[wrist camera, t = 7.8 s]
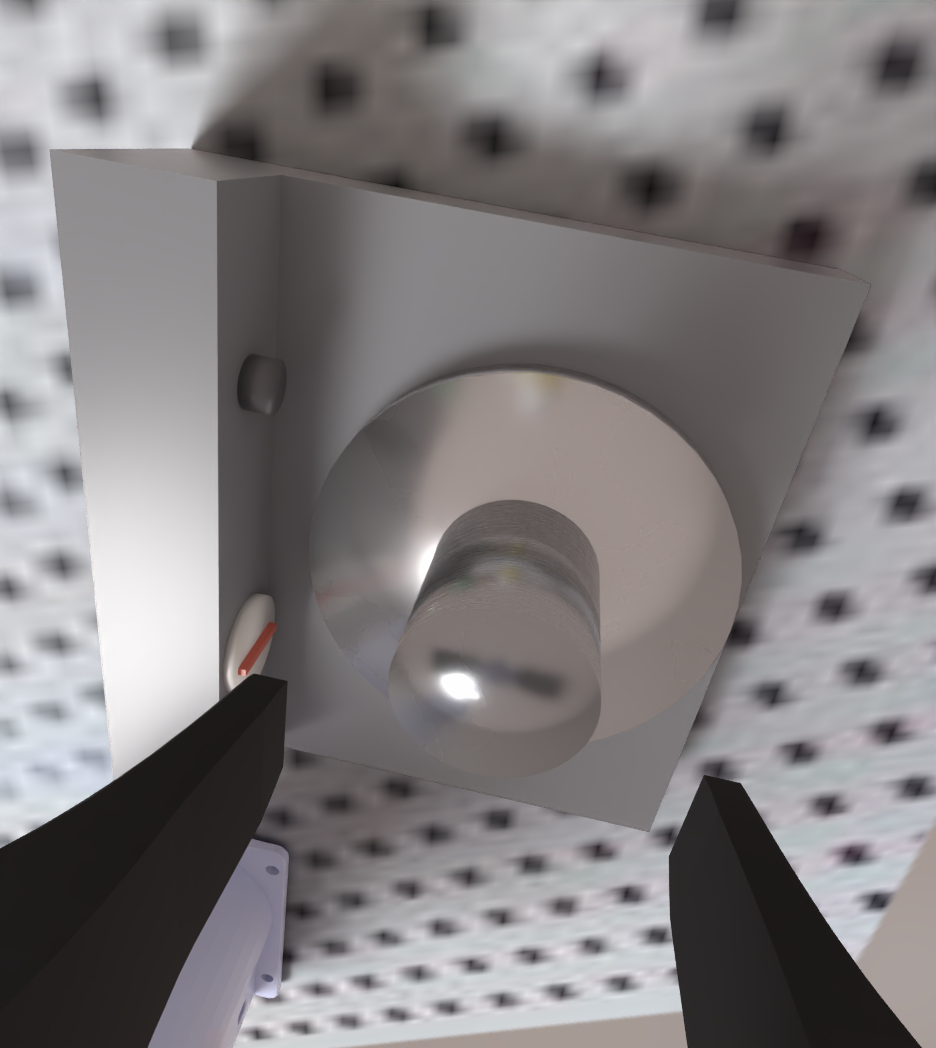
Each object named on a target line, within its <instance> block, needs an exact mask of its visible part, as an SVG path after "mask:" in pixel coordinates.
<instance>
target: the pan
mask: <svg viewBox="0 0 936 1048" xmlns="http://www.w3.org/2000/svg"><path fill="white" fill-rule="evenodd" d="M499 500H524V501H530V502H535V503H538V504H542V505H545V506H547V507H550V508H552V509H554V510H556V511H558V512H560V513H561V514H563V515H565V516H566V517H567V518H569V519H570V520H571V521H573V522H574V523H575V524H576V525H577V526H578V527H579V528H580V529H581V530H582V531H583V533H584V534H585V535H586V536H587V538H588V539H589V541H590V543H591V545H592V546H593V548H594V551H595V553H596V556H597V560H598V564H599V572H600V635H601V712H600V717H599V721H598V724H597V727H596V729H595V731H594V733H593V735H592V737H591V738H590V740H589V741H588V742H591V741H596V740H600V739H604V738H607V737H610V736H613V735H616V734H619V733H622V732H624V731H627V730H629V729H631V728H634V727H636V726H638V725H640V724H642V723H644V722H646V721H648V720H650V719H652V718H653V717H655V716H656V715H658V714H659V713H661V712H663V711H664V710H666V709H667V708H669V707H670V706H672V705H673V704H674V703H675V702H676V701H678V700H679V699H680V698H681V697H682V696H684V695H685V694H686V693H687V692H688V691H690V689H691V688H692V687H693V686H694V685H695V684H696V683H697V682H698V681H699V680H700V679H701V678H702V676H703V675H704V674H705V673H706V672H707V670H708V669H709V667H710V666H711V665H712V663H713V662H714V660H715V659H716V657H717V656H718V655H719V653H720V651H721V649H722V647H723V645H724V643H725V641H726V639H727V637H728V635H729V633H730V631H731V628H732V624H733V621H734V618H735V615H736V612H737V609H738V603H739V597H740V590H741V584H742V562H741V551H740V545H739V539H738V534H737V529H736V526H735V523H734V520H733V517H732V514H731V511H730V508H729V505H728V503H727V500H726V498H725V495H724V492H723V490H722V488H721V486H720V484H719V482H718V480H717V478H716V476H715V474H714V472H713V470H712V469H711V467H710V465H709V464H708V462H707V461H706V459H705V458H704V457H703V455H702V454H701V452H700V451H699V450H698V448H697V447H696V446H695V444H694V443H693V442H692V441H691V440H690V439H689V438H688V437H687V436H686V435H685V434H684V433H683V431H682V430H681V429H680V428H679V427H678V426H677V425H676V424H675V423H674V422H673V421H671V420H670V419H669V418H668V417H666V416H665V415H664V414H662V413H661V412H660V411H659V410H657V409H656V408H655V407H653V406H652V405H651V404H649V403H648V402H646V401H644V400H643V399H641V398H639V397H637V396H636V395H634V394H632V393H630V392H629V391H627V390H625V389H624V388H621V387H619V386H617V385H614V384H612V383H609V382H607V381H604V380H602V379H599V378H597V377H595V376H591V375H587V374H584V373H580V372H576V371H572V370H569V369H565V368H558V367H551V366H543V365H535V364H499V365H492V366H484V367H476V368H470V369H467V370H463V371H459V372H455V373H452V374H448V375H444V376H441V377H439V378H437V379H434V380H432V381H430V382H427V383H425V384H422V385H420V386H418V387H416V388H414V389H412V390H411V391H409V392H407V393H406V394H404V395H402V396H401V397H399V398H397V399H396V400H394V401H392V402H391V403H390V404H389V405H387V406H386V407H385V408H384V409H382V410H381V411H380V412H379V413H377V414H376V415H375V416H374V417H372V418H371V419H370V421H369V422H368V423H367V424H366V425H365V426H364V427H363V428H362V429H361V430H360V431H359V432H358V434H357V435H356V436H355V437H354V438H353V439H352V440H351V442H350V443H349V444H348V445H347V447H346V448H345V449H344V451H343V452H342V453H341V455H340V456H339V458H338V459H337V461H336V462H335V464H334V465H333V467H332V468H331V470H330V471H329V474H328V476H327V478H326V480H325V482H324V484H323V486H322V488H321V490H320V493H319V496H318V499H317V502H316V506H315V509H314V512H313V516H312V522H311V529H310V536H309V566H310V572H311V579H312V585H313V589H314V593H315V596H316V599H317V603H318V606H319V609H320V612H321V614H322V616H323V618H324V620H325V623H326V625H327V627H328V629H329V631H330V633H331V635H332V636H333V638H334V639H335V641H336V643H337V644H338V646H339V648H340V649H341V651H342V652H343V653H344V655H345V656H346V657H347V658H348V660H349V661H350V662H351V664H352V665H353V666H354V667H355V669H356V670H357V671H358V672H359V673H360V674H361V675H362V676H363V677H364V678H365V679H366V680H367V681H368V682H369V683H370V684H371V685H372V686H373V687H374V688H376V689H377V690H378V691H379V692H381V693H382V694H383V695H384V696H386V697H387V698H388V699H389V700H390V698H389V693H388V674H389V669H390V665H391V662H392V659H393V657H394V654H395V652H396V649H397V647H398V644H399V641H400V639H401V636H402V634H403V631H404V629H405V626H406V624H407V621H408V619H409V616H410V614H411V611H412V609H413V606H414V604H415V601H416V599H417V596H418V594H419V591H420V588H421V586H422V583H423V581H424V578H425V576H426V573H427V571H428V568H429V566H430V563H431V561H432V558H433V556H434V553H435V551H436V548H437V546H438V543H439V541H440V539H441V537H442V536H443V534H444V532H445V531H446V530H447V528H448V527H449V526H450V525H451V524H452V523H453V522H454V521H455V520H456V519H457V518H458V517H459V516H461V515H462V514H464V513H466V512H467V511H469V510H471V509H473V508H475V507H477V506H480V505H483V504H486V503H489V502H494V501H499Z"/></svg>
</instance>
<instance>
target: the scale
mask: <svg viewBox="0 0 936 1048" xmlns="http://www.w3.org/2000/svg"><path fill="white" fill-rule="evenodd" d="M50 158H51V168H52V178H53V187H54V197H55V207H56V217H57V227H58V237H59V247H60V257H61V267H62V276H63V286H64V296H65V306H66V316H67V326H68V336H69V346H70V356H71V365H72V375H73V385H74V395H75V405H76V415H77V425H78V435H79V445H80V454H81V464H82V474H83V484H84V494H85V504H86V514H87V524H88V534H89V544H90V553H91V563H92V573H93V583H94V593H95V603H96V613H97V623H98V633H99V642H100V652H101V662H102V672H103V682H104V692H105V702H106V712H107V722H108V731H109V741H110V751H111V761H112V771H113V781H114V780H115V779H117V778H118V777H120V776H121V775H123V774H124V773H125V772H127V771H128V770H130V769H131V768H133V767H134V766H135V765H137V764H138V763H140V762H141V761H143V760H144V759H145V758H147V757H148V756H150V755H151V754H152V753H154V752H155V751H156V750H158V749H159V748H160V747H162V746H163V745H164V744H166V743H167V742H168V741H169V740H171V739H172V738H173V737H175V736H176V735H177V734H179V733H180V732H181V731H182V730H184V729H185V728H186V727H188V726H189V725H190V724H192V723H193V722H194V721H195V720H196V719H198V718H199V717H200V716H201V715H203V714H204V713H205V712H206V711H208V710H209V709H210V708H211V707H212V706H214V705H215V704H216V703H217V702H219V701H220V700H221V699H222V698H223V697H224V696H226V695H227V694H228V693H229V692H230V691H232V690H233V689H234V688H235V687H236V686H237V685H239V684H240V683H241V682H242V681H243V680H245V679H246V678H247V677H248V676H250V675H252V674H254V673H255V674H259V675H264V676H268V677H272V678H277V679H281V680H286V681H288V685H287V704H286V722H285V740H284V747H286V748H291V749H295V750H299V751H303V752H308V753H312V754H316V755H321V756H325V757H329V758H333V759H338V760H342V761H346V762H351V763H355V764H359V765H364V766H368V767H372V768H376V769H381V770H385V771H389V772H394V773H398V774H402V775H407V776H411V777H415V778H419V779H424V780H428V781H432V782H437V783H441V784H445V785H449V786H454V787H458V788H462V789H467V790H471V791H475V792H480V793H484V794H488V795H492V796H497V797H501V798H505V799H510V800H514V801H518V802H522V803H527V804H531V805H535V806H540V807H544V808H548V809H553V810H557V811H561V812H565V813H570V814H574V815H578V816H583V817H587V818H591V819H596V820H600V821H604V822H608V823H613V824H617V825H621V826H626V827H630V828H634V829H638V830H643V831H647V832H649V831H650V829H651V826H652V824H653V821H654V819H655V816H656V814H657V811H658V809H659V806H660V804H661V801H662V799H663V797H664V794H665V792H666V789H667V787H668V784H669V782H670V779H671V777H672V774H673V772H674V769H675V767H676V764H677V762H678V760H679V757H680V755H681V752H682V750H683V747H684V745H685V742H686V740H687V737H688V735H689V732H690V730H691V727H692V725H693V723H694V720H695V718H696V715H697V713H698V710H699V708H700V705H701V703H702V700H703V698H704V695H705V693H706V690H707V688H708V686H709V683H710V681H711V678H712V676H713V673H714V671H715V668H716V666H717V663H718V661H719V658H720V656H721V653H722V651H723V649H724V646H725V644H726V641H727V639H728V637H727V639H726V641H725V643H724V645H723V647H722V649H721V651H720V653H719V655H718V656H717V657H716V659H715V660H714V662H713V663H712V665H711V666H710V667H709V669H708V670H707V672H706V673H705V674H704V675H703V676H702V678H701V679H700V680H699V681H698V682H697V683H696V684H695V685H694V686H693V687H692V688H691V689H690V691H688V692H687V693H686V694H685V695H684V696H682V697H681V698H680V699H679V700H678V701H676V702H675V703H674V704H673V705H672V706H670V707H669V708H667V709H666V710H664V711H663V712H661V713H659V714H658V715H656V716H655V717H653V718H652V719H650V720H648V721H646V722H644V723H642V724H640V725H638V726H636V727H634V728H631V729H629V730H627V731H624V732H622V733H619V734H616V735H613V736H610V737H607V738H604V739H600V740H596V741H591V742H588V743H587V744H586V745H585V746H584V747H583V748H582V749H581V751H580V752H578V753H577V754H576V755H575V756H574V757H572V758H571V759H570V760H568V761H567V762H565V763H563V764H562V765H560V766H558V767H556V768H553V769H551V770H549V771H546V772H543V773H539V774H536V775H531V776H526V777H516V778H496V777H486V776H481V775H476V774H472V773H469V772H465V771H462V770H459V769H457V768H454V767H452V766H449V765H447V764H445V763H444V762H442V761H440V760H438V759H436V758H435V757H433V756H432V755H430V754H429V753H427V752H426V751H425V750H423V749H422V748H421V747H420V746H419V745H417V744H416V743H415V742H414V741H413V740H412V738H411V737H410V736H409V735H408V734H407V733H406V731H405V730H404V729H403V727H402V726H401V724H400V723H399V721H398V719H397V718H396V716H395V713H394V711H393V708H392V706H391V702H390V700H389V699H388V698H387V697H386V696H384V695H383V694H382V693H381V692H379V691H378V690H377V689H376V688H374V687H373V686H372V685H371V684H370V683H369V682H368V681H367V680H366V679H365V678H364V677H363V676H362V675H361V674H360V673H359V672H358V671H357V670H356V669H355V667H354V666H353V665H352V664H351V662H350V661H349V660H348V658H347V657H346V656H345V655H344V653H343V652H342V651H341V649H340V648H339V646H338V644H337V643H336V641H335V639H334V638H333V636H332V635H331V633H330V631H329V629H328V627H327V625H326V623H325V620H324V618H323V616H322V614H321V612H320V609H319V606H318V603H317V599H316V596H315V593H314V589H313V585H312V579H311V572H310V566H309V536H310V529H311V522H312V516H313V512H314V509H315V506H316V502H317V499H318V496H319V493H320V490H321V488H322V486H323V484H324V482H325V480H326V478H327V476H328V474H329V471H330V470H331V468H332V467H333V465H334V464H335V462H336V461H337V459H338V458H339V456H340V455H341V453H342V452H343V451H344V449H345V448H346V447H347V445H348V444H349V443H350V442H351V440H352V439H353V438H354V437H355V436H356V435H357V434H358V432H359V431H360V430H361V429H362V428H363V427H364V426H365V425H366V424H367V423H368V422H369V421H370V419H371V418H372V417H374V416H375V415H376V414H377V413H379V412H380V411H381V410H382V409H384V408H385V407H386V406H387V405H389V404H390V403H391V402H392V401H394V400H396V399H397V398H399V397H401V396H402V395H404V394H406V393H407V392H409V391H411V390H412V389H414V388H416V387H418V386H420V385H422V384H425V383H427V382H430V381H432V380H434V379H437V378H439V377H441V376H444V375H448V374H452V373H455V372H459V371H463V370H467V369H470V368H476V367H484V366H492V365H499V364H535V365H543V366H551V367H558V368H565V369H569V370H572V371H576V372H580V373H584V374H587V375H591V376H595V377H597V378H599V379H602V380H604V381H607V382H609V383H612V384H614V385H617V386H619V387H621V388H624V389H625V390H627V391H629V392H630V393H632V394H634V395H636V396H637V397H639V398H641V399H643V400H644V401H646V402H648V403H649V404H651V405H652V406H653V407H655V408H656V409H657V410H659V411H660V412H661V413H662V414H664V415H665V416H666V417H668V418H669V419H670V420H671V421H673V422H674V423H675V424H676V425H677V426H678V427H679V428H680V429H681V430H682V431H683V433H684V434H685V435H686V436H687V437H688V438H689V439H690V440H691V441H692V442H693V443H694V444H695V446H696V447H697V448H698V450H699V451H700V452H701V454H702V455H703V457H704V458H705V459H706V461H707V462H708V464H709V465H710V467H711V469H712V470H713V472H714V474H715V476H716V478H717V480H718V482H719V484H720V486H721V488H722V490H723V492H724V495H725V498H726V500H727V503H728V505H729V508H730V511H731V514H732V517H733V520H734V523H735V526H736V529H737V534H738V539H739V545H740V551H741V562H742V584H741V590H740V597H739V603H738V609H737V612H736V615H735V618H734V621H735V619H736V616H737V614H738V612H739V609H740V607H741V604H742V602H743V599H744V597H745V594H746V592H747V589H748V587H749V584H750V582H751V579H752V577H753V575H754V572H755V570H756V567H757V565H758V562H759V560H760V557H761V555H762V552H763V550H764V547H765V545H766V542H767V540H768V538H769V535H770V533H771V530H772V528H773V525H774V523H775V520H776V518H777V515H778V513H779V510H780V508H781V505H782V503H783V501H784V498H785V496H786V493H787V491H788V488H789V486H790V483H791V481H792V478H793V476H794V473H795V471H796V468H797V466H798V464H799V461H800V459H801V456H802V454H803V451H804V449H805V446H806V444H807V441H808V439H809V436H810V434H811V431H812V429H813V427H814V424H815V422H816V419H817V417H818V414H819V412H820V409H821V407H822V404H823V402H824V399H825V397H826V394H827V392H828V390H829V387H830V385H831V382H832V380H833V377H834V375H835V372H836V370H837V367H838V365H839V362H840V360H841V357H842V355H843V353H844V350H845V348H846V345H847V343H848V340H849V338H850V335H851V333H852V330H853V328H854V325H855V323H856V320H857V318H858V316H859V313H860V311H861V308H862V306H863V303H864V301H865V298H866V296H867V293H868V291H869V288H870V286H871V284H869V283H867V282H865V281H863V280H861V279H859V278H857V277H855V276H853V275H851V274H849V273H847V272H845V271H843V270H840V269H835V268H830V267H824V266H819V265H813V264H808V263H803V262H797V261H792V260H787V259H781V258H776V257H770V256H765V255H760V254H754V253H749V252H743V251H738V250H733V249H727V248H722V247H717V246H711V245H706V244H700V243H695V242H690V241H684V240H679V239H673V238H668V237H663V236H657V235H652V234H647V233H641V232H636V231H630V230H625V229H620V228H614V227H609V226H603V225H598V224H593V223H587V222H582V221H577V220H571V219H566V218H560V217H555V216H550V215H544V214H539V213H533V212H528V211H523V210H517V209H512V208H507V207H501V206H496V205H490V204H485V203H480V202H474V201H469V200H463V199H458V198H453V197H447V196H442V195H437V194H431V193H426V192H420V191H415V190H410V189H404V188H399V187H394V186H388V185H383V184H377V183H372V182H367V181H361V180H356V179H350V178H345V177H340V176H334V175H329V174H324V173H318V172H313V171H307V170H302V169H297V168H291V167H286V166H280V165H275V164H270V163H264V162H259V161H254V160H248V159H243V158H237V157H232V156H227V155H221V154H216V153H210V152H205V151H200V150H194V149H50ZM734 621H733V624H734ZM733 624H732V626H733ZM731 629H732V628H731ZM729 634H730V633H729ZM728 636H729V635H728Z"/></svg>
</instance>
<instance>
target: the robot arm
mask: <svg viewBox="0 0 936 1048" xmlns="http://www.w3.org/2000/svg"><path fill="white" fill-rule="evenodd" d="M287 685H288V681H286V680H281V679H277V678H272V677H268V676H264V675H259V674H255V673H254V674H252V675H250V676H248V677H247V678H246V679H245V680H243V681H242V682H241V683H240V684H239V685H237V686H236V687H235V688H234V689H233V690H232V691H230V692H229V693H228V694H227V695H226V696H224V697H223V698H222V699H221V700H220V701H219V702H217V703H216V704H215V705H214V706H212V707H211V708H210V709H209V710H208V711H206V712H205V713H204V714H203V715H201V716H200V717H199V718H198V719H196V720H195V721H194V722H193V723H192V724H190V725H189V726H188V727H186V728H185V729H184V730H182V731H181V732H180V733H179V734H177V735H176V736H175V737H173V738H172V739H171V740H169V741H168V742H167V743H166V744H164V745H163V746H162V747H160V748H159V749H158V750H156V751H155V752H154V753H152V754H151V755H150V756H148V757H147V758H145V759H144V760H143V761H141V762H140V763H138V764H137V765H135V766H134V767H133V768H131V769H130V770H128V771H127V772H125V773H124V774H123V775H121V776H120V777H118V778H117V779H115V780H114V781H112V782H111V783H110V784H108V785H107V786H105V787H104V788H102V789H101V790H99V791H98V792H96V793H95V794H93V795H91V796H90V797H88V798H87V799H85V800H84V801H82V802H80V803H79V804H77V805H76V806H74V807H72V808H71V809H69V810H67V811H66V812H64V813H62V814H61V815H59V816H57V817H56V818H54V819H52V820H51V821H49V822H47V823H46V824H44V825H42V826H40V827H39V828H37V829H35V830H33V831H31V832H30V833H28V834H26V835H24V836H22V837H20V838H19V839H17V840H15V841H13V842H11V843H9V844H8V845H6V846H4V847H2V848H0V1048H232V1047H233V1045H234V1042H235V1040H236V1037H237V1035H238V1032H239V1030H240V1027H241V1025H242V1022H243V1020H244V1017H245V1015H246V1012H247V1010H248V1007H249V1005H250V1002H251V1000H252V997H253V995H258V996H262V997H266V998H274V997H276V996H277V995H278V993H279V990H280V987H281V976H282V961H283V945H284V929H285V913H286V897H287V881H288V865H289V855H288V852H287V851H286V850H285V849H284V848H283V847H281V846H279V845H275V844H271V843H267V842H263V841H259V840H255V839H252V837H253V835H254V834H255V832H256V830H257V828H258V826H259V824H260V822H261V820H262V818H263V815H264V813H265V810H266V808H267V806H268V803H269V801H270V798H271V796H272V793H273V791H274V788H275V786H276V783H277V781H278V778H279V776H280V773H281V771H282V768H283V759H284V740H285V722H286V704H287ZM669 897H670V921H671V929H672V937H673V945H674V952H675V960H676V967H677V974H678V982H679V989H680V996H681V1003H682V1010H683V1017H684V1024H685V1031H686V1038H687V1046H688V1048H922V1047H921V1046H920V1045H919V1044H918V1043H917V1041H916V1040H915V1039H914V1038H913V1036H912V1035H911V1034H910V1033H909V1031H908V1030H907V1029H906V1028H905V1026H904V1025H903V1024H902V1023H901V1022H900V1020H899V1019H898V1018H897V1017H896V1015H895V1014H894V1013H893V1011H892V1010H891V1009H890V1008H889V1007H888V1005H887V1004H886V1003H885V1002H884V1000H883V999H882V998H881V997H880V995H879V994H878V993H877V991H876V990H875V989H874V987H873V986H872V985H871V983H870V982H869V981H868V980H867V978H866V977H865V976H864V974H863V973H862V972H861V970H860V969H859V967H858V966H857V964H856V963H855V962H854V960H853V959H852V957H851V956H850V955H849V953H848V952H847V950H846V949H845V948H844V946H843V945H842V943H841V942H840V941H839V939H838V938H837V936H836V935H835V933H834V932H833V930H832V929H831V927H830V926H829V925H828V923H827V922H826V920H825V919H824V917H823V916H822V914H821V913H820V911H819V909H818V908H817V906H816V905H815V903H814V902H813V900H812V899H811V897H810V895H809V894H808V892H807V891H806V889H805V888H804V886H803V885H802V883H801V882H800V880H799V878H798V877H797V875H796V874H795V872H794V870H793V869H792V867H791V866H790V864H789V862H788V861H787V859H786V858H785V856H784V854H783V853H782V851H781V849H780V848H779V846H778V844H777V843H776V841H775V839H774V838H773V836H772V834H771V833H770V831H769V829H768V828H767V826H766V824H765V823H764V821H763V819H762V818H761V816H760V814H759V813H758V811H757V809H756V808H755V806H754V804H753V803H752V801H751V799H750V798H749V796H748V794H747V793H746V791H745V789H744V788H743V786H742V785H741V783H737V782H733V781H729V780H724V779H720V778H715V777H711V776H706V775H704V776H703V779H702V781H701V783H700V786H699V788H698V790H697V793H696V795H695V797H694V800H693V802H692V804H691V807H690V809H689V811H688V813H687V816H686V818H685V820H684V823H683V825H682V827H681V830H680V832H679V834H678V837H677V839H676V841H675V844H674V846H673V848H672V851H671V853H670V855H669Z"/></svg>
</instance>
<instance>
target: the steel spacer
mask: <svg viewBox="0 0 936 1048" xmlns="http://www.w3.org/2000/svg"><path fill="white" fill-rule="evenodd" d="M388 693H389V698H390V702H391V706H392V708H393V711H394V713H395V716H396V718H397V719H398V721H399V723H400V724H401V726H402V727H403V729H404V730H405V731H406V733H407V734H408V735H409V736H410V737H411V738H412V740H413V741H414V742H415V743H416V744H417V745H419V746H420V747H421V748H422V749H423V750H425V751H426V752H427V753H429V754H430V755H432V756H433V757H435V758H436V759H438V760H440V761H442V762H444V763H445V764H447V765H449V766H452V767H454V768H457V769H459V770H462V771H465V772H469V773H472V774H476V775H481V776H486V777H496V778H516V777H526V776H531V775H536V774H539V773H543V772H546V771H549V770H551V769H553V768H556V767H558V766H560V765H562V764H563V763H565V762H567V761H568V760H570V759H571V758H572V757H574V756H575V755H576V754H577V753H578V752H580V751H581V749H582V748H583V747H584V746H585V745H586V744H587V743H588V741H589V740H590V738H591V737H592V735H593V733H594V731H595V729H596V727H597V724H598V721H599V717H600V712H601V635H600V572H599V564H598V560H597V556H596V553H595V551H594V548H593V546H592V545H591V543H590V541H589V539H588V538H587V536H586V535H585V534H584V533H583V531H582V530H581V529H580V528H579V527H578V526H577V525H576V524H575V523H574V522H573V521H571V520H570V519H569V518H567V517H566V516H565V515H563V514H561V513H560V512H558V511H556V510H554V509H552V508H550V507H547V506H545V505H542V504H538V503H535V502H530V501H524V500H499V501H494V502H489V503H486V504H483V505H480V506H477V507H475V508H473V509H471V510H469V511H467V512H466V513H464V514H462V515H461V516H459V517H458V518H457V519H456V520H455V521H454V522H453V523H452V524H451V525H450V526H449V527H448V528H447V530H446V531H445V532H444V534H443V536H442V537H441V539H440V541H439V543H438V546H437V548H436V551H435V553H434V556H433V558H432V561H431V563H430V566H429V568H428V571H427V573H426V576H425V578H424V581H423V583H422V586H421V588H420V591H419V594H418V596H417V599H416V601H415V604H414V606H413V609H412V611H411V614H410V616H409V619H408V621H407V624H406V626H405V629H404V631H403V634H402V636H401V639H400V641H399V644H398V647H397V649H396V652H395V654H394V657H393V659H392V662H391V665H390V669H389V674H388Z"/></svg>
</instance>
